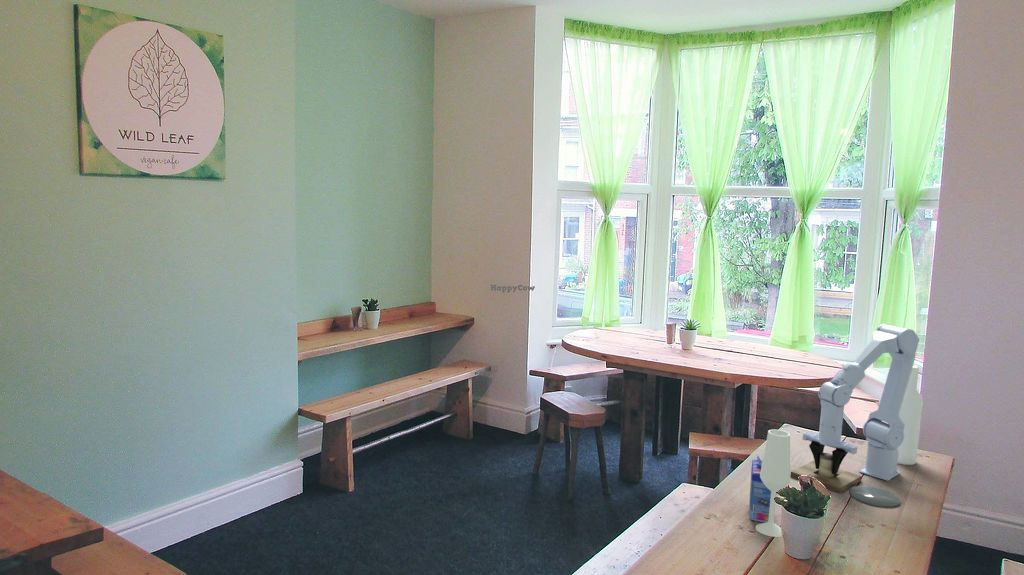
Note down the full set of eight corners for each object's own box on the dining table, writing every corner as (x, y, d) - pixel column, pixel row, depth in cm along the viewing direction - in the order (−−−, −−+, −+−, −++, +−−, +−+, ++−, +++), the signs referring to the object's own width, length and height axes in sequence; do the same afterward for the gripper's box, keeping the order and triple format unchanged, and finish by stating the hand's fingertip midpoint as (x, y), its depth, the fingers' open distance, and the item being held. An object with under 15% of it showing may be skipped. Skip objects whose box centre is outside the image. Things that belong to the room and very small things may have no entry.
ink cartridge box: (747, 503, 175) (752, 450, 173) (770, 507, 173) (775, 453, 172) (748, 520, 166) (752, 463, 164) (772, 524, 164) (777, 467, 162)
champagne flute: (783, 525, 164) (791, 429, 161) (787, 538, 157) (796, 439, 154) (753, 521, 165) (762, 426, 162) (757, 534, 159) (765, 435, 156)
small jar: (821, 474, 197) (824, 451, 196) (835, 479, 194) (838, 455, 193) (815, 478, 194) (817, 454, 193) (829, 482, 191) (832, 459, 190)
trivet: (860, 484, 191) (860, 482, 190) (906, 499, 182) (907, 497, 182) (842, 495, 183) (842, 493, 183) (889, 511, 174) (889, 509, 174)
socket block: (812, 465, 204) (813, 460, 203) (861, 480, 193) (861, 475, 193) (790, 476, 194) (790, 471, 194) (839, 493, 184) (840, 487, 184)
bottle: (886, 461, 209) (897, 367, 206) (886, 453, 216) (897, 362, 213) (916, 467, 206) (927, 371, 202) (915, 459, 212) (926, 366, 209)
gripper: (799, 420, 195) (795, 465, 196) (851, 434, 184) (846, 482, 186) (810, 416, 199) (806, 460, 201) (862, 429, 189) (857, 476, 190)
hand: (826, 470), depth 194 cm, fingers open, 4 cm apart
